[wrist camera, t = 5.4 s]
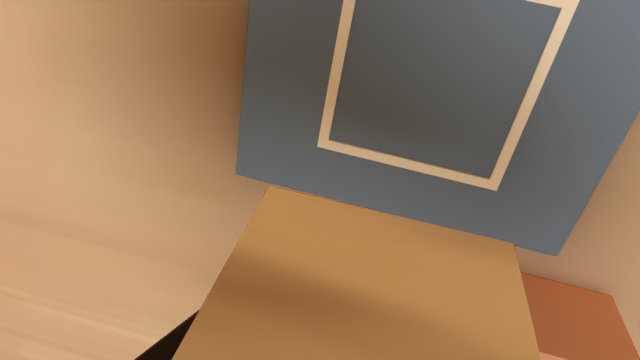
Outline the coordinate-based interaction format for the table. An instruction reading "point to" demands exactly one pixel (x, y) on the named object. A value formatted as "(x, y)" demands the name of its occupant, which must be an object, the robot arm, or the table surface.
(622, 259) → the table surface
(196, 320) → the maple block
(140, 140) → the table surface
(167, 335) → the robot arm
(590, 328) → the terracotta block
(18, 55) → the table surface
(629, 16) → the board
